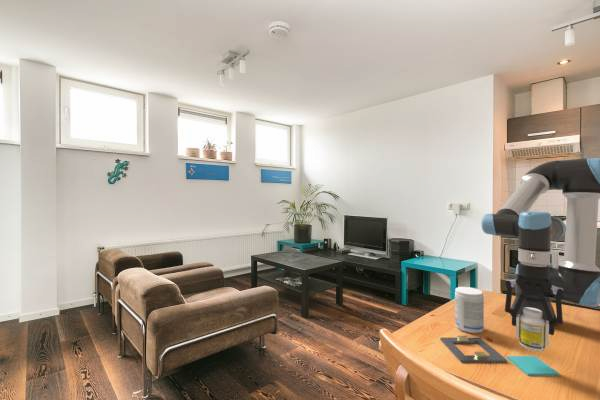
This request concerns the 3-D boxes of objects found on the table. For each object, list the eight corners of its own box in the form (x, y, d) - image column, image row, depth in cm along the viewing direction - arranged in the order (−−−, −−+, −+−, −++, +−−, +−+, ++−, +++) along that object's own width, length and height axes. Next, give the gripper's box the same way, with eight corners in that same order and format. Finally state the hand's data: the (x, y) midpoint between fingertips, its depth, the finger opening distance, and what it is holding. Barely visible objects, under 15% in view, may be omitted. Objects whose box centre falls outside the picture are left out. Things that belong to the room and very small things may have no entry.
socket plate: (480, 339, 106) (480, 334, 106) (507, 362, 92) (507, 356, 92) (440, 339, 106) (440, 334, 106) (461, 362, 92) (461, 356, 92)
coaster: (535, 357, 94) (535, 356, 94) (559, 375, 85) (559, 373, 85) (506, 357, 95) (506, 356, 95) (527, 375, 86) (527, 373, 86)
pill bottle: (530, 340, 93) (531, 305, 93) (550, 350, 87) (551, 313, 87) (513, 342, 92) (514, 306, 92) (533, 353, 86) (534, 315, 86)
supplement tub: (488, 330, 114) (489, 291, 113) (475, 336, 108) (476, 296, 108) (462, 320, 122) (463, 284, 121) (449, 326, 116) (450, 289, 116)
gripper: (493, 261, 92) (492, 335, 93) (578, 271, 80) (576, 357, 81) (497, 257, 98) (496, 326, 99) (576, 266, 86) (574, 346, 86)
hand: (532, 340), depth 90 cm, fingers closed on pill bottle, 6 cm apart
